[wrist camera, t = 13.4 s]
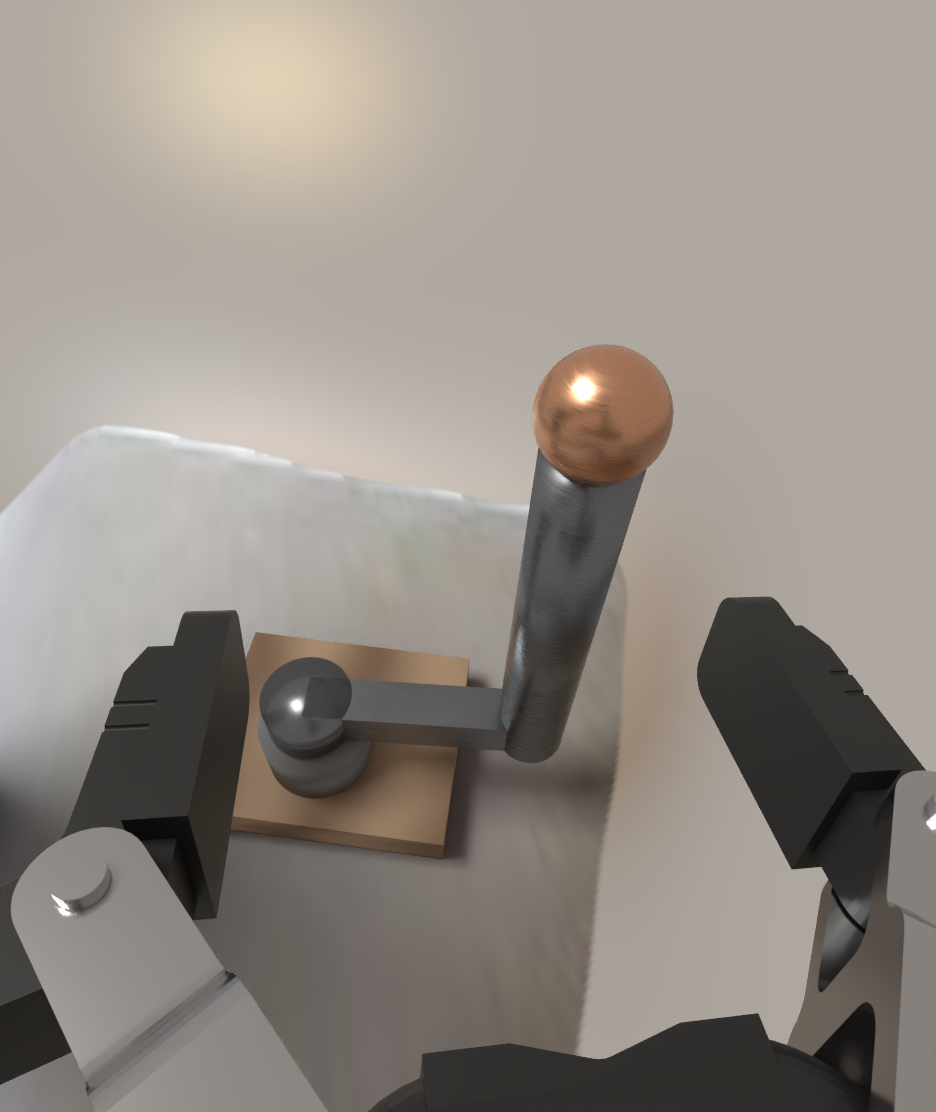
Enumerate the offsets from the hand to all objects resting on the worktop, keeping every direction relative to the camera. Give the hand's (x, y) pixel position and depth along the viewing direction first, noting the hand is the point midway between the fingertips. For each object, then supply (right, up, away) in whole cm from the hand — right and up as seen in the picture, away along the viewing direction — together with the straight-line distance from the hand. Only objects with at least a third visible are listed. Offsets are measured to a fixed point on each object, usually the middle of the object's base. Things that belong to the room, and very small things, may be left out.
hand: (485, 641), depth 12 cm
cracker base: (-7, -9, +25) cm, 28 cm away
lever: (-3, -6, +21) cm, 22 cm away
